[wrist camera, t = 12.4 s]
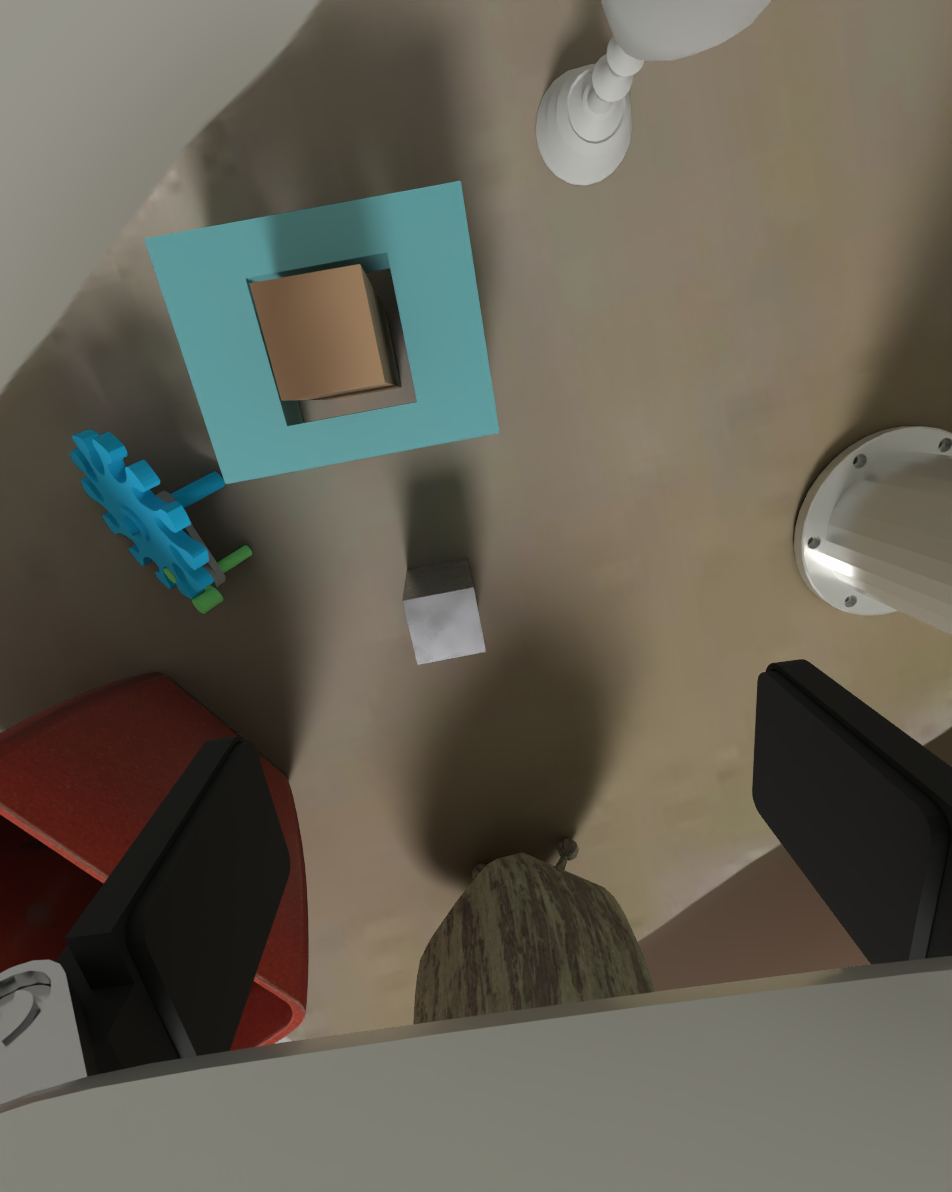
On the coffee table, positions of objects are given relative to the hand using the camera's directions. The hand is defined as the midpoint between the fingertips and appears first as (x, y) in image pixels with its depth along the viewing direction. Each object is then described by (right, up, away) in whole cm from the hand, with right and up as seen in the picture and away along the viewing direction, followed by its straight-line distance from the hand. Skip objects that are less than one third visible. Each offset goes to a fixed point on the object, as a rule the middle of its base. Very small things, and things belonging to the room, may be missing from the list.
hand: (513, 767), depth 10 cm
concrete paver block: (-3, +3, +27) cm, 27 cm away
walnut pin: (-7, +17, +21) cm, 28 cm away
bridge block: (-7, +17, +21) cm, 28 cm away
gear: (-19, +8, +24) cm, 32 cm away
